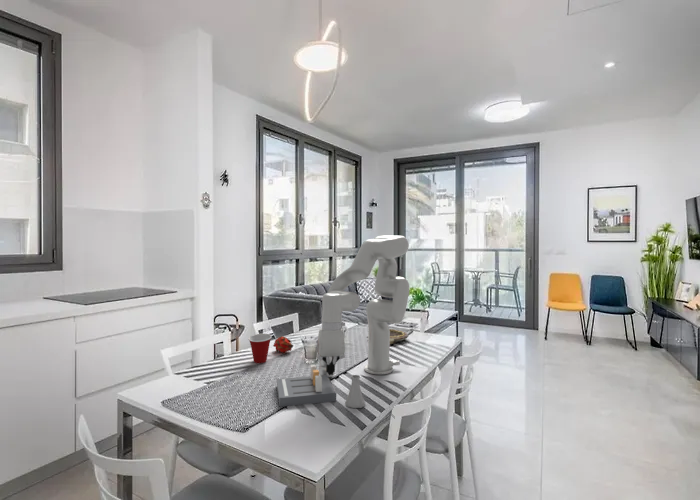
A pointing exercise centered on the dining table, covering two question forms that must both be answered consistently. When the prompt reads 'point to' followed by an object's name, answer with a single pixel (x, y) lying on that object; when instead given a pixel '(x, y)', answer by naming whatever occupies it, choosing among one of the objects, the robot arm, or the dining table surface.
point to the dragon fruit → (283, 344)
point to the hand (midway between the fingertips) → (330, 373)
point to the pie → (397, 336)
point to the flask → (355, 394)
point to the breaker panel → (305, 390)
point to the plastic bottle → (324, 368)
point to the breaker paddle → (315, 373)
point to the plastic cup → (260, 347)
